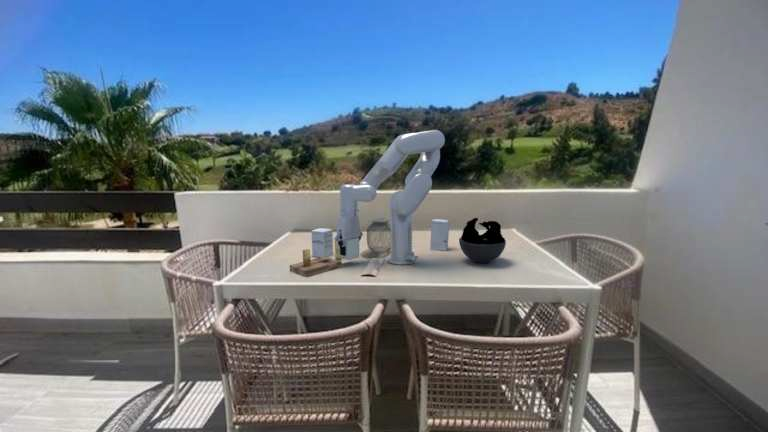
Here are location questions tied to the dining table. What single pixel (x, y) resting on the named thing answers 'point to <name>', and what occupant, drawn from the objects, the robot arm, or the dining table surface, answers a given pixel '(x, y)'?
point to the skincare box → (439, 234)
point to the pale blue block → (351, 249)
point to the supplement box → (322, 242)
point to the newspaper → (373, 266)
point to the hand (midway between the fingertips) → (349, 253)
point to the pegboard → (314, 265)
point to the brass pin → (337, 252)
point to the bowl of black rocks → (482, 241)
